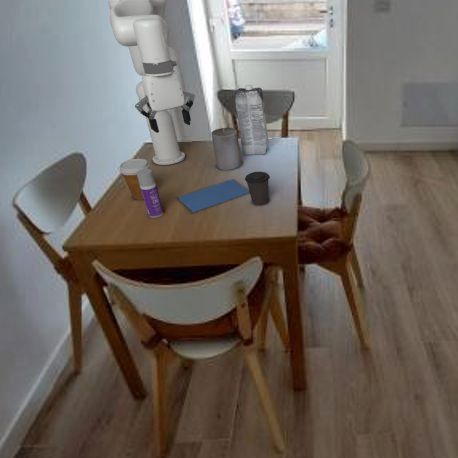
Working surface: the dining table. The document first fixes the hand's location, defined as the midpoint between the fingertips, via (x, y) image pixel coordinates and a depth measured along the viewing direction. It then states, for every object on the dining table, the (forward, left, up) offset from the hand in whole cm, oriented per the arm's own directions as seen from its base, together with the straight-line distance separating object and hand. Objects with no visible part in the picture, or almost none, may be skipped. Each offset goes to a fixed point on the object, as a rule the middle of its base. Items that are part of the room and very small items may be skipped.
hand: (172, 127), depth 128 cm
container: (-2, -11, -27) cm, 29 cm away
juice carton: (-26, +40, -27) cm, 55 cm away
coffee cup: (+13, +19, -27) cm, 36 cm away
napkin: (-2, +9, -27) cm, 29 cm away
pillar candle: (-21, +25, -27) cm, 43 cm away
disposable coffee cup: (-18, -10, -27) cm, 34 cm away
